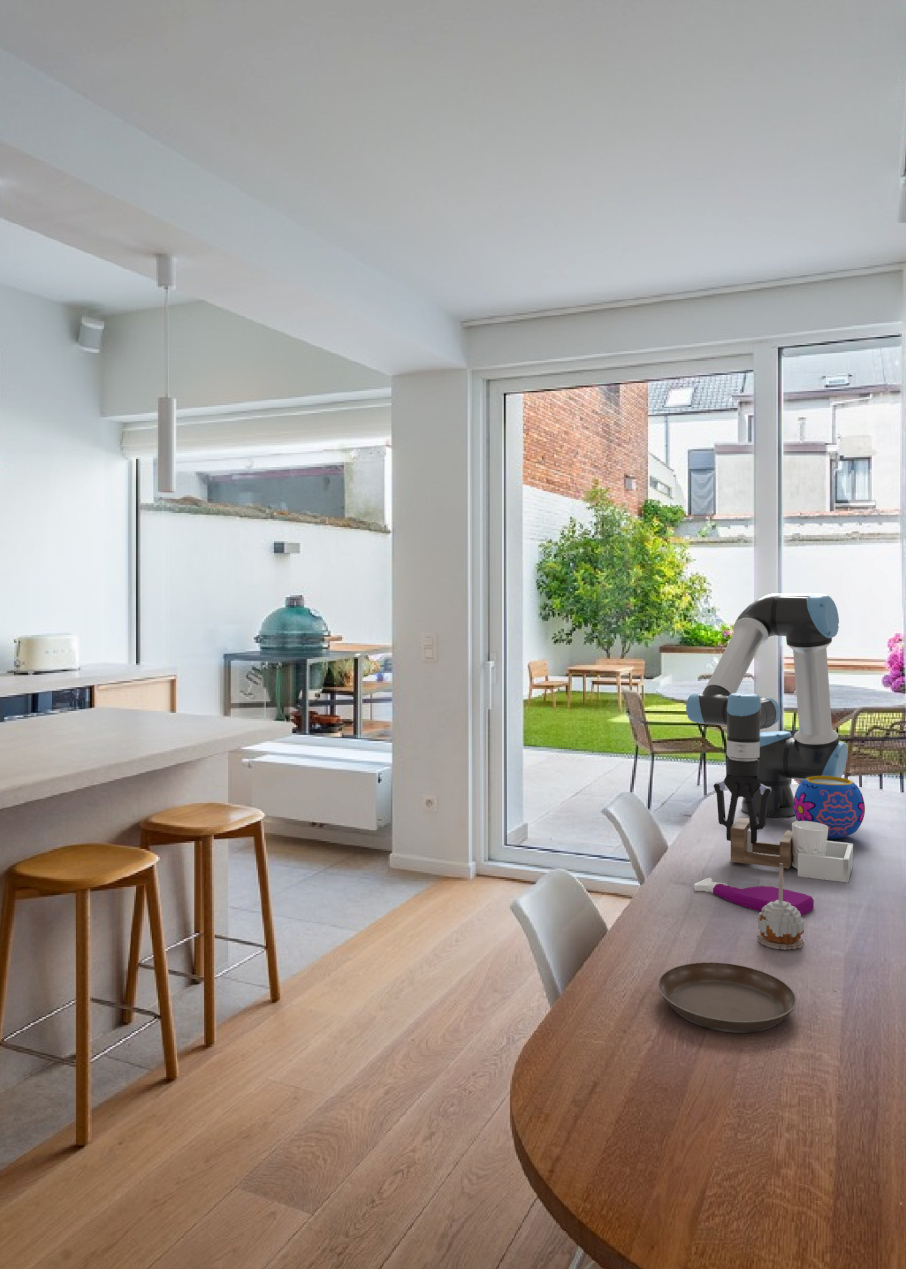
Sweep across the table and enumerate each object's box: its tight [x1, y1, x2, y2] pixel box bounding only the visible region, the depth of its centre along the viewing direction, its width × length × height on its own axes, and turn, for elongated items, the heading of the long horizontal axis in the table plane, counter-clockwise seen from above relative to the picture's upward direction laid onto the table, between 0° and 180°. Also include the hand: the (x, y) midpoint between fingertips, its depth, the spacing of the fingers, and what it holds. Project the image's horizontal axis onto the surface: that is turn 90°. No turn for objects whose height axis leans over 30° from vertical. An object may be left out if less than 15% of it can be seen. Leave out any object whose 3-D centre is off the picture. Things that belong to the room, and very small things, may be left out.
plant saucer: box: [657, 961, 797, 1034], centre depth 147 cm, size 21×21×3 cm
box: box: [797, 840, 854, 883], centre depth 217 cm, size 15×10×5 cm
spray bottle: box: [693, 877, 815, 917], centre depth 197 cm, size 3×11×25 cm
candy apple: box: [756, 863, 805, 951], centre depth 172 cm, size 8×8×15 cm
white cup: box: [791, 820, 828, 870], centre depth 218 cm, size 8×8×10 cm
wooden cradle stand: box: [730, 817, 793, 870], centre depth 223 cm, size 11×13×8 cm
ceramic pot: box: [793, 776, 866, 840], centre depth 246 cm, size 18×18×15 cm
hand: (741, 855), depth 225 cm, fingers closed on wooden cradle stand, 3 cm apart
